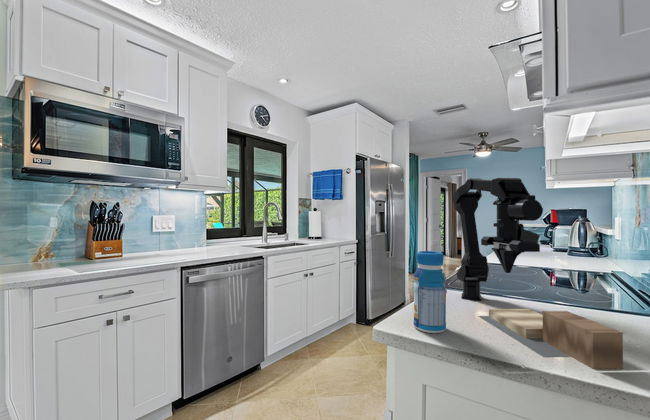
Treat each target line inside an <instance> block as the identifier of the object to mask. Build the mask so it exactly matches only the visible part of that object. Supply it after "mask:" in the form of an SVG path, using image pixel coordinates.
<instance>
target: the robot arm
mask: <svg viewBox="0 0 650 420" xmlns="http://www.w3.org/2000/svg"><path fill="white" fill-rule="evenodd" d="M522 180H523V179H521V178H519V177H496V178H493V179H485V178H484V179H483V178H480V177H479V178H478V177H477V178H475V177H474V178H472V177H471V178H467V180H466V181H465V183H463V184H461V186H459V187H458V188H457V189H456V190H455V192H454V194H453V195H452V202H453V206H454V209H455V211H456V212H457V213H458V214H459V216H460V223H461V224H460V225H461V231H462V239H463V240H462V241H463V247H464V254H463V257H461V261H460V267H459V269H458V271H457V272H456V279H457V280H459V281H460V282H462V293H461V299H466V300H475V301H482V300H483V298H482V294H481V282H482V283H484V282H485V283H486V282H487V280H488V276H489V271H490V270H489V269H490V267H489V265H488V258H487V256H484V255H483V254H482V253H481V252H480V251H481V250H480V245H481V246H485V247H487V246H493V247H491V251H493V253H494V254H495V255H496V258H497V259H498V262H499V263H500V265H501V267H502V269H503V270H504V273H506V274H510V273H511V272H512V270H513V267H514V264H515V262H516V259H517V258H518V256H519V255H521V254H522V253H539V252H540V253H541V244H540V243H539V241H540V240H539V239H540V237H541V235H540V234H537V233H536V232H533V231H531V230H527V229H525V228H524V227H525V226H524V223H520V221H531V222H532V221H537V220H539V219H540V218H541V217H542V215H543V212H544V207H542V204H541V203H540V201H538V200H537V199H536V195H535V194H534V195H533V194H530V192H529V191H528V190H527V187H526V186H525V184H524V182H523V181H522ZM470 190H476V191H470ZM482 192H489V193H490V195H492V196H494V197H497V198H496V199H495V200H494V201H493V203H492V205H494V206H496V223H495V222H493V227H496V236H488V235H487V236H485V235H484V236H483V237H482V238H481V240H480V243H481V244H479V237H478V229H477V221H476V215H475V213H476V211H477V209H478V207H479V201H480V200H481V199H482V197H483V196H482V195H483V194H482Z"/></svg>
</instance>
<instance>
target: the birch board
mask: <svg viewBox="0 0 650 420" xmlns="http://www.w3.org/2000/svg"><path fill="white" fill-rule="evenodd" d="M488 316H489V317H490V318H492V319H494V320H496V321H497V322H499V323H501V324H502V325H504V326H506V327H507V328H509V329H511V330H513V331H514V332H516V333H518V334H519V335H521V336H523V337H525V338H543V314H541V313H539V312H537V311H534V310H532V309H530V308H489V309H488Z"/></svg>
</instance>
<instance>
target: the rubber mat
mask: <svg viewBox="0 0 650 420" xmlns="http://www.w3.org/2000/svg"><path fill="white" fill-rule="evenodd" d="M477 317H479V318H480V319H482V320H483V321H485V322H487V324H489V325H491V326H493V327H494V328H496V329H498V330H499V331H501V332H502V333H504V334H506V335H507V336H509V337H510V338H511V339H514V340H515V341H517V342H518V343H520V344H522V345H523V346H524V347H527V348H528V349H529V350H531V351H533V352H534V353H536V354H538V355H539V356H542V357H543V358H572V357H571V356H569V355H567V354H565V353H564V352H562V351H560V350H558V349H556V348H555V347H553V346H551V345H549V344H547V343H546V342H544V341H543V338H525V337H523V336H521V335H519V334H518V333H516V332H514V331H513V330H511V329H509V328H507V327H506V326H504V325H502V324H501V323H499V322H497V321H496V320H494V319H492V318H490V317H489V315H478V316H477Z"/></svg>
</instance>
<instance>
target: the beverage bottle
mask: <svg viewBox="0 0 650 420" xmlns="http://www.w3.org/2000/svg"><path fill="white" fill-rule="evenodd" d="M416 264H417V265H418V267H417V268H416V270H415V272H414V273H413V274H414V275H413V280H414V283H413V285H412V290H413V326H414V328H415V329H416V330H418V331H420V332H424V333H428V334H440V333H443V332H445V331H446V330H447V322H446V320H447V319H446V318H447V317H446V315H447V313H446V312H447V311H446V310H447V309H446V308H447V307H446V306H447V292H448V289H447V285H446V282H447V277H446V274H445V272H444V270H443V269H442V267H443V265H444V253H443V252H440V251H433V250H420V251H417V252H416Z"/></svg>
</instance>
